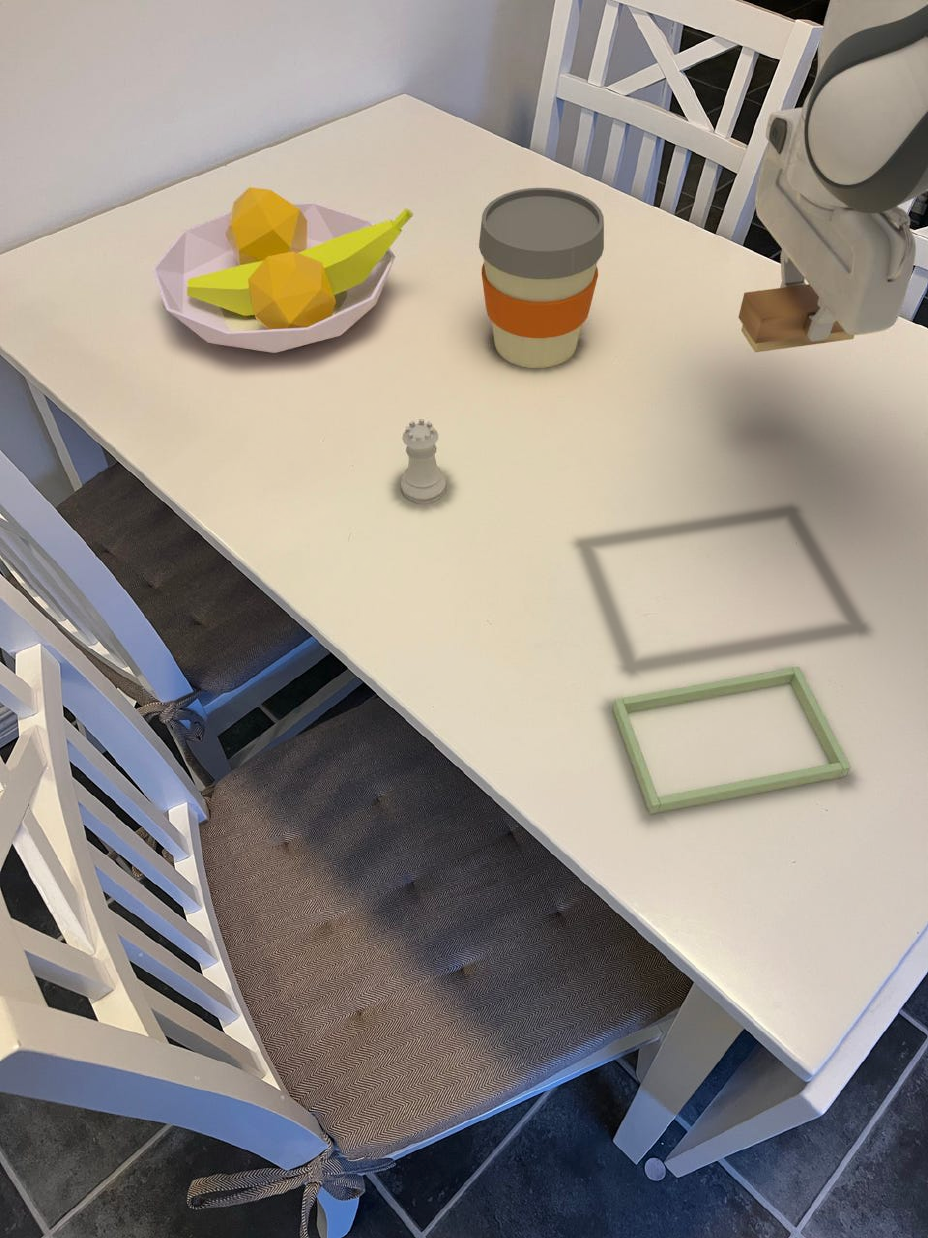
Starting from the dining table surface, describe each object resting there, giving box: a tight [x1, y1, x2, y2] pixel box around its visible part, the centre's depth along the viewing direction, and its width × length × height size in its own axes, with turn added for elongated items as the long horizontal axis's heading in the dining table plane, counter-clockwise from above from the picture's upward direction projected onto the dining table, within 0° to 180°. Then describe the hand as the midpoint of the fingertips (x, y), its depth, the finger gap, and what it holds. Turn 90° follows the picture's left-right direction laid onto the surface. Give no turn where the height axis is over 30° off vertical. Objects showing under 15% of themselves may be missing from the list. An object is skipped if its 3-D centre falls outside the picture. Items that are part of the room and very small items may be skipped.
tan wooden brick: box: [737, 283, 856, 353], centre depth 80 cm, size 10×4×4 cm, turn 101°
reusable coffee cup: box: [478, 187, 605, 369], centre depth 95 cm, size 13×12×15 cm
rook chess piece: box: [400, 418, 447, 505], centre depth 84 cm, size 4×4×8 cm
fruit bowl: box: [151, 186, 414, 354], centre depth 101 cm, size 28×27×11 cm
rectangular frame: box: [612, 666, 852, 815], centre depth 69 cm, size 15×9×2 cm, turn 101°
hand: (801, 317), depth 80 cm, fingers closed on tan wooden brick, 4 cm apart
